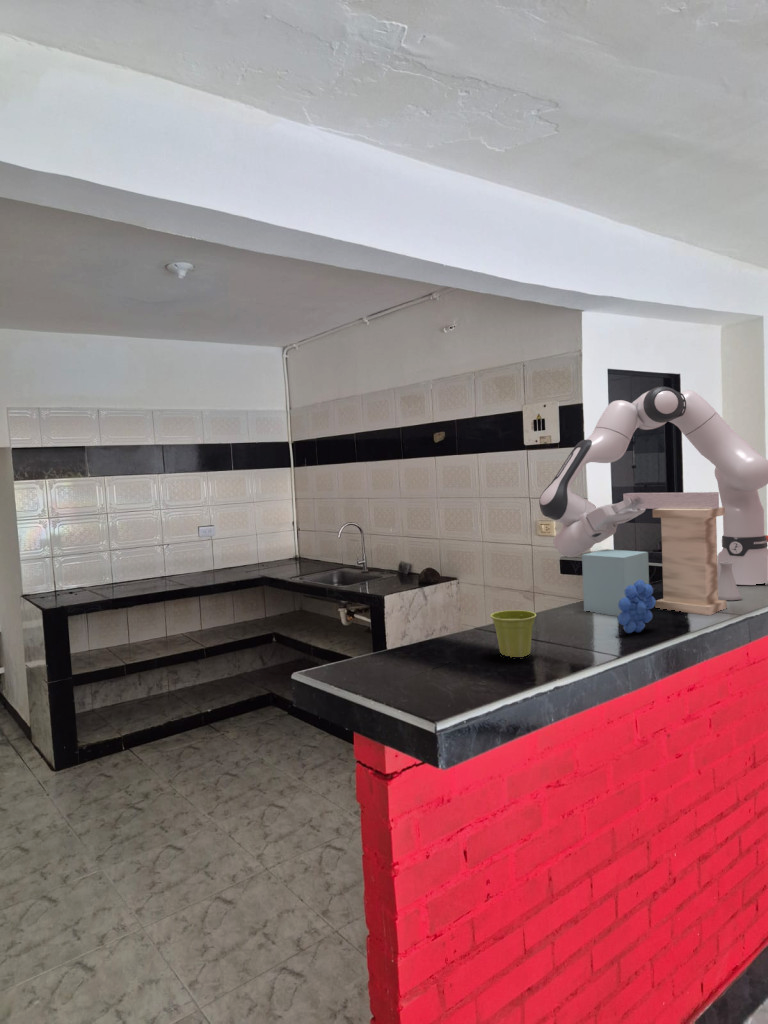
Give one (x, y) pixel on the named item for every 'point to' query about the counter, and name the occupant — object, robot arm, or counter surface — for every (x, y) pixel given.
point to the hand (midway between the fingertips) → (639, 499)
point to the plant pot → (514, 631)
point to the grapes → (636, 606)
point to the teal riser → (611, 578)
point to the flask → (727, 583)
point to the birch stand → (690, 560)
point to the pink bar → (674, 500)
